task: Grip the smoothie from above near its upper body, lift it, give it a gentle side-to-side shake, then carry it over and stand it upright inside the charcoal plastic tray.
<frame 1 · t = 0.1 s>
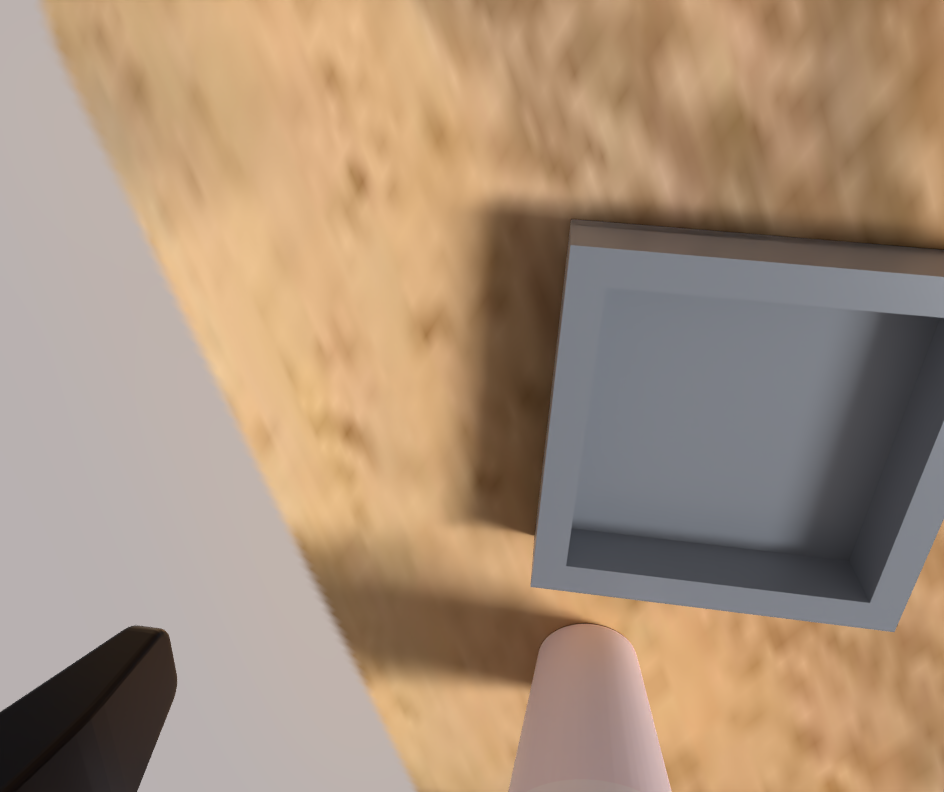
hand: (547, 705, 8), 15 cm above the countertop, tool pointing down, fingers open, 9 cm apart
smoothie: (587, 656, 28), on the countertop
tray: (732, 414, 23), on the countertop
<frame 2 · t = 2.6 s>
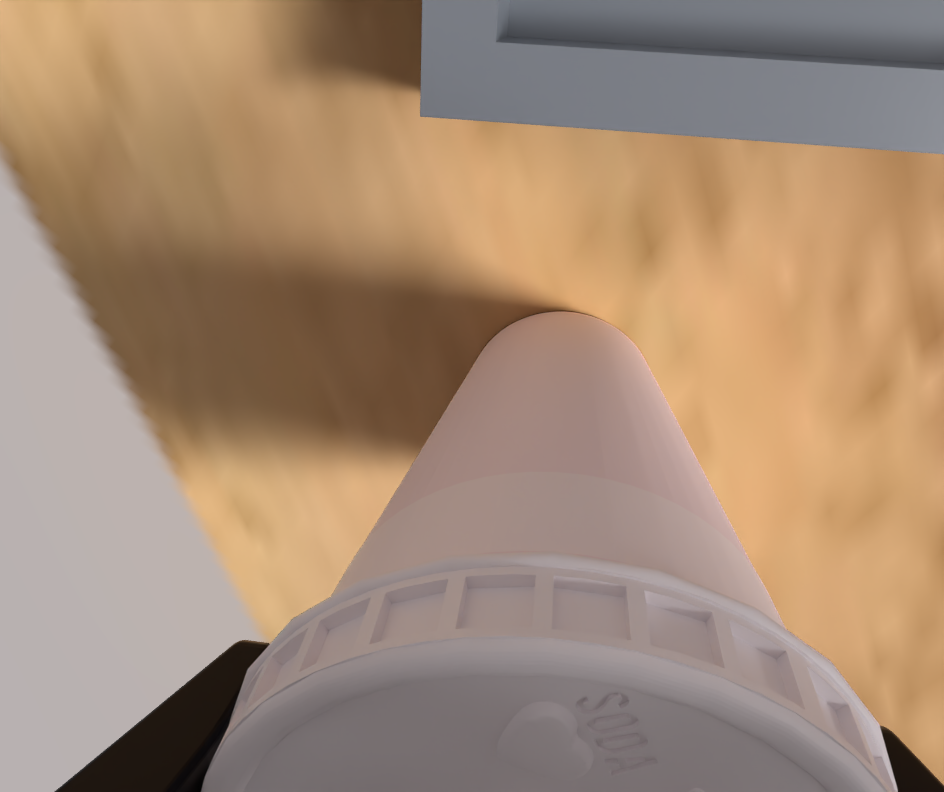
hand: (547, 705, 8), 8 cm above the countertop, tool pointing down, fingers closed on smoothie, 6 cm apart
smoothie: (560, 392, 15), on the countertop, touching gripper
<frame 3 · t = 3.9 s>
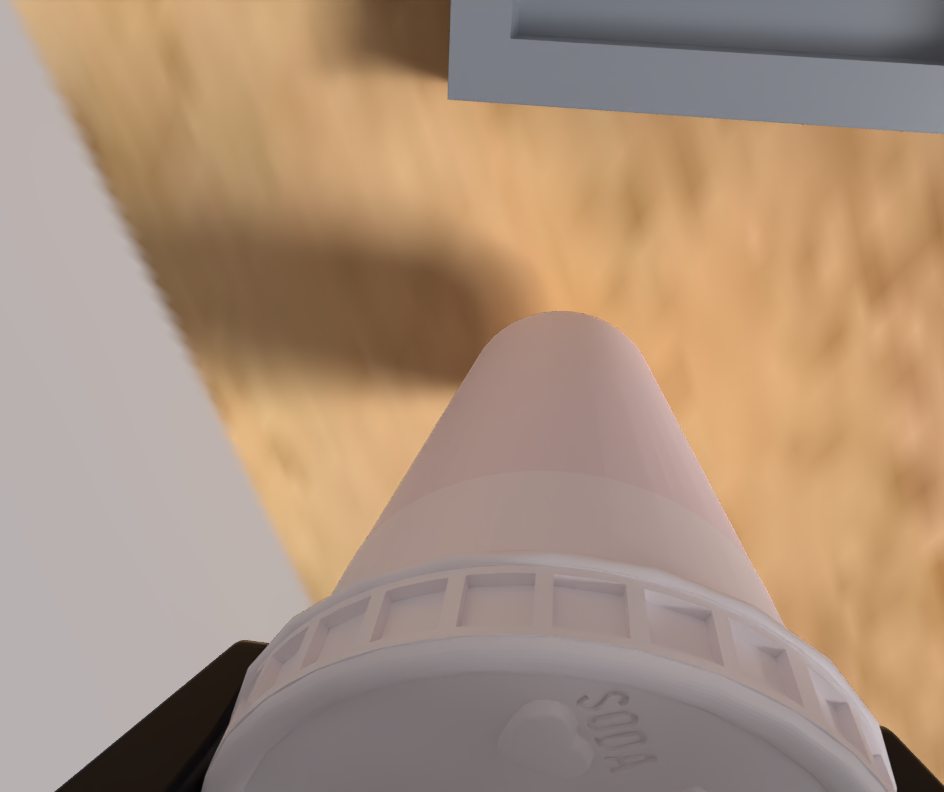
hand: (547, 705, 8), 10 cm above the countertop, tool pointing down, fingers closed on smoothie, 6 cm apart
smoothie: (560, 391, 15), point 2 cm above the countertop, touching gripper
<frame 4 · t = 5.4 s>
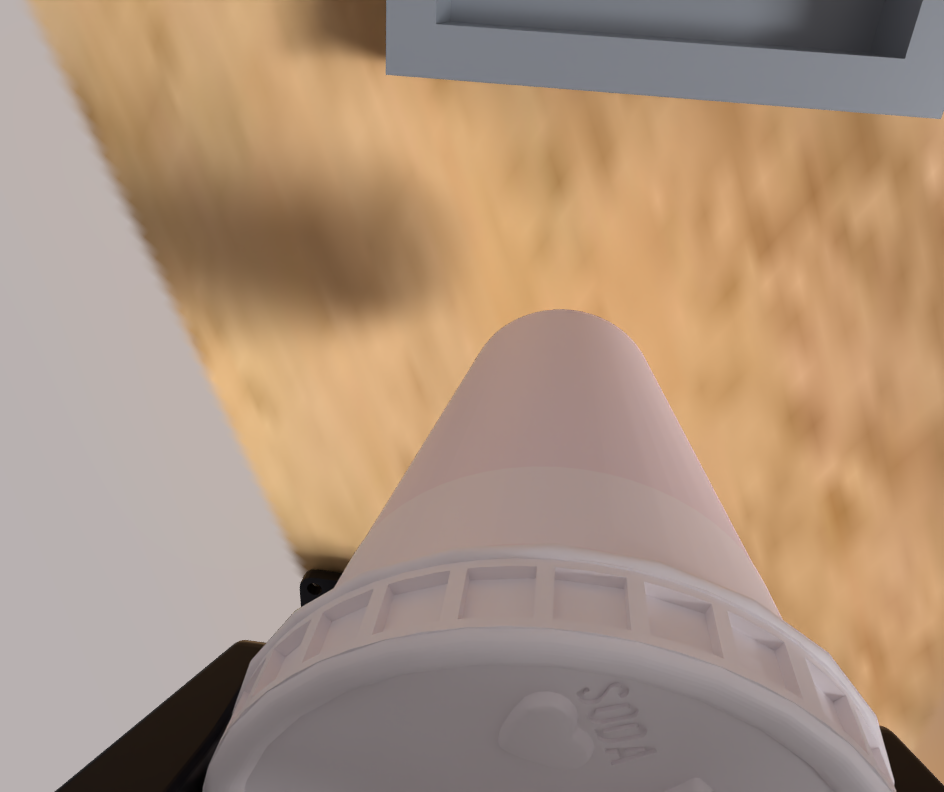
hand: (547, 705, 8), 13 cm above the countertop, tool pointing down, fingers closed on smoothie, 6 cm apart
smoothie: (560, 390, 15), point 5 cm above the countertop, touching gripper
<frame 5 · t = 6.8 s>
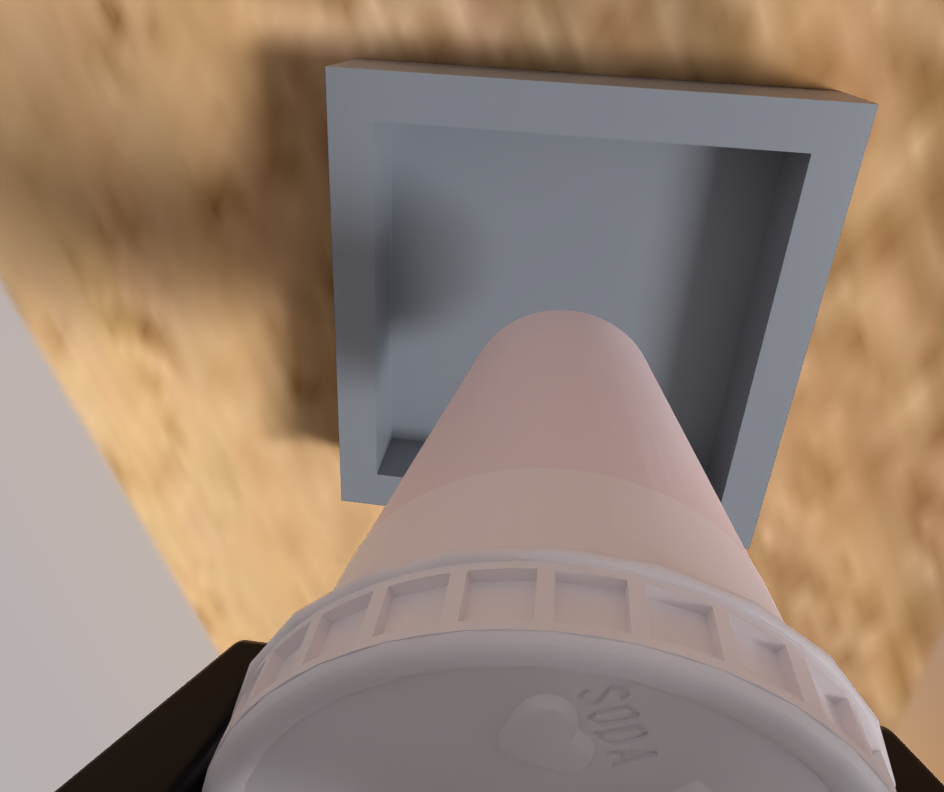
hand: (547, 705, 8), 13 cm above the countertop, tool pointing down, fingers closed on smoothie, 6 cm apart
smoothie: (560, 390, 15), point 5 cm above the countertop, touching gripper
tray: (564, 299, 20), on the countertop
when the fingers open (9 cm above the countertop, at t = 8.0 s): smoothie drops 1 cm, resting on tray.
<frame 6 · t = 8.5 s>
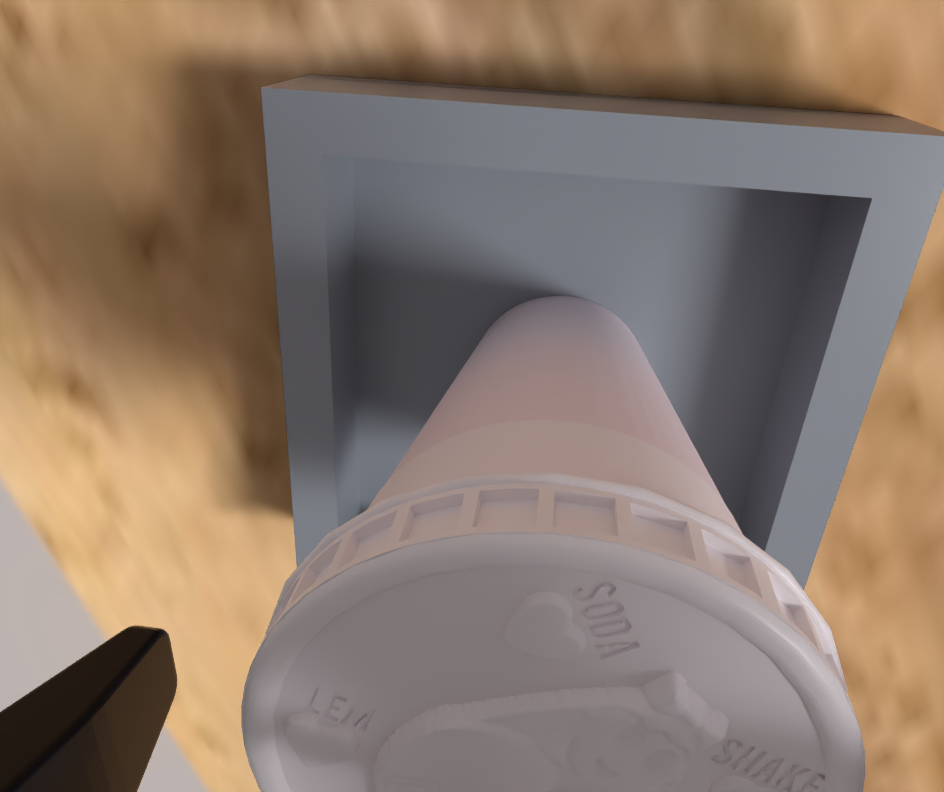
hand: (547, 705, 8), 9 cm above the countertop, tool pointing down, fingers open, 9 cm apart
smoothie: (558, 372, 16), resting on tray
tray: (561, 359, 17), on the countertop
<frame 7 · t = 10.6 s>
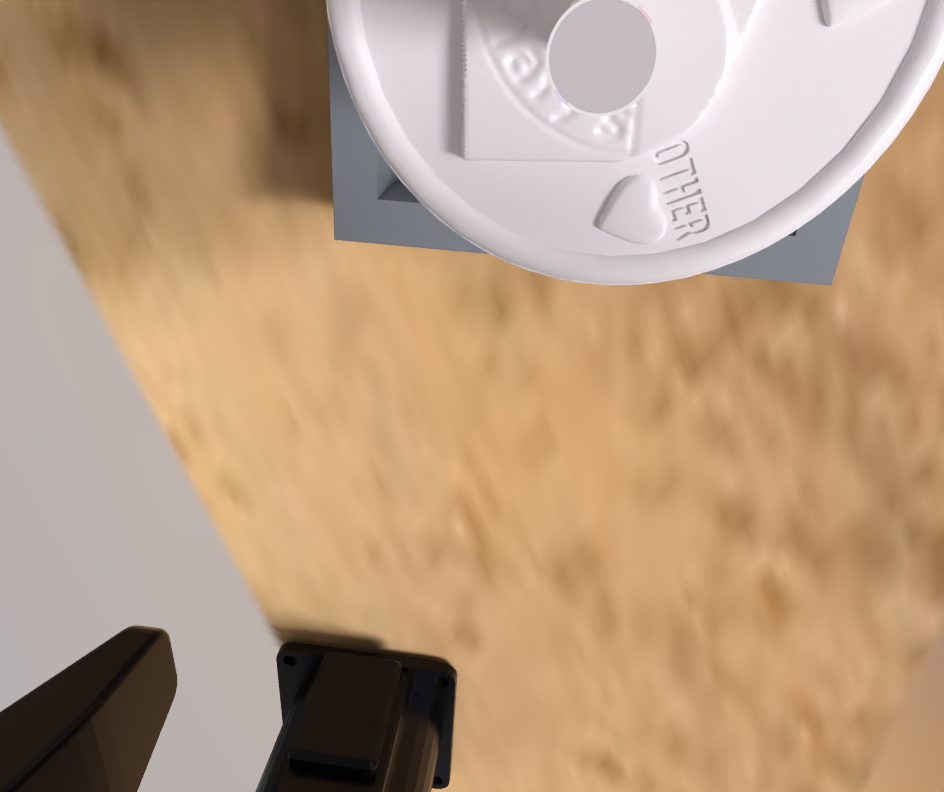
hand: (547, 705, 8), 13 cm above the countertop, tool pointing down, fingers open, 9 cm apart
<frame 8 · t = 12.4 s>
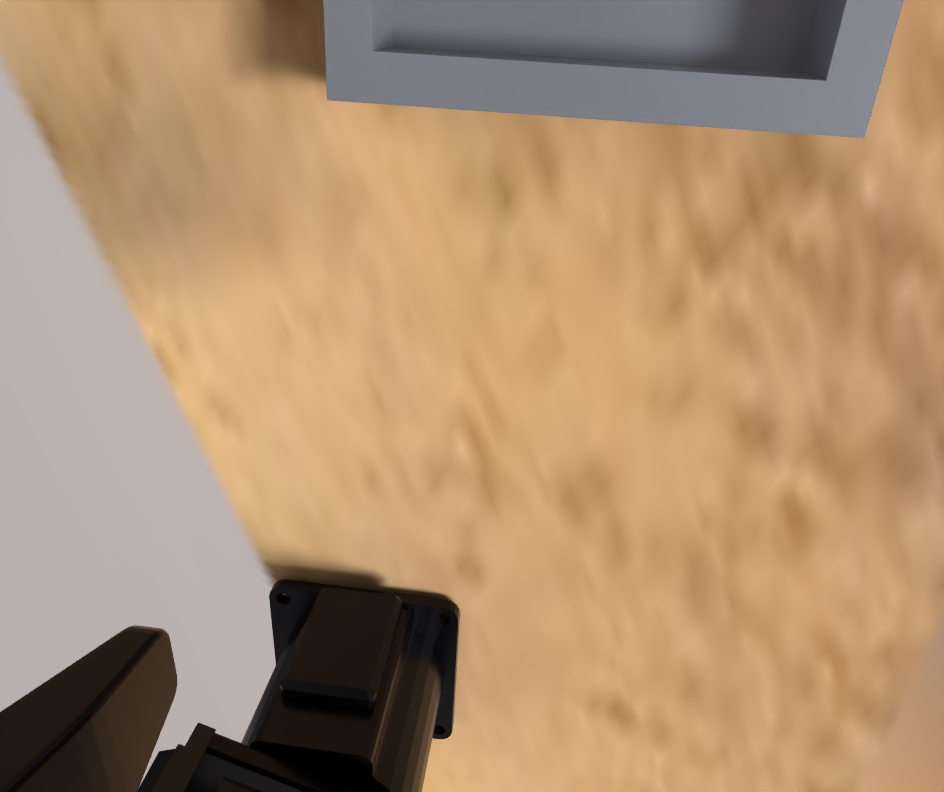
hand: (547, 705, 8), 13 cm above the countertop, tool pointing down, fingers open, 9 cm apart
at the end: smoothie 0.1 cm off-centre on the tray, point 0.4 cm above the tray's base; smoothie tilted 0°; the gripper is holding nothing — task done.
